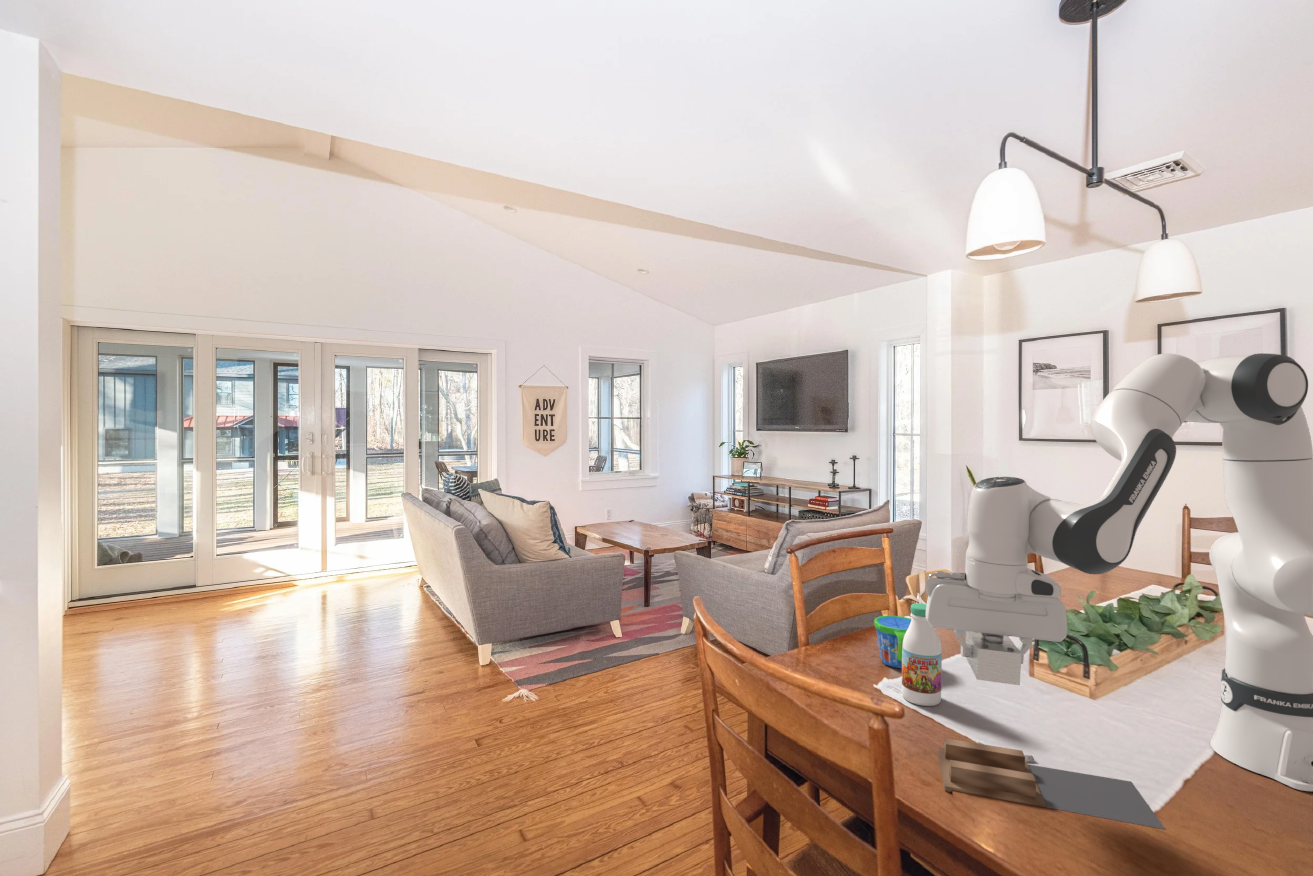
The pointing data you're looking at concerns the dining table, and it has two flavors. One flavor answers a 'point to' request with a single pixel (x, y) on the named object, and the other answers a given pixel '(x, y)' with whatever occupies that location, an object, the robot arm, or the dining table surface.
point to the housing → (994, 658)
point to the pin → (1029, 759)
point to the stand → (988, 772)
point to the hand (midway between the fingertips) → (991, 659)
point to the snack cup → (891, 638)
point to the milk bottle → (921, 660)
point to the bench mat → (1093, 796)
